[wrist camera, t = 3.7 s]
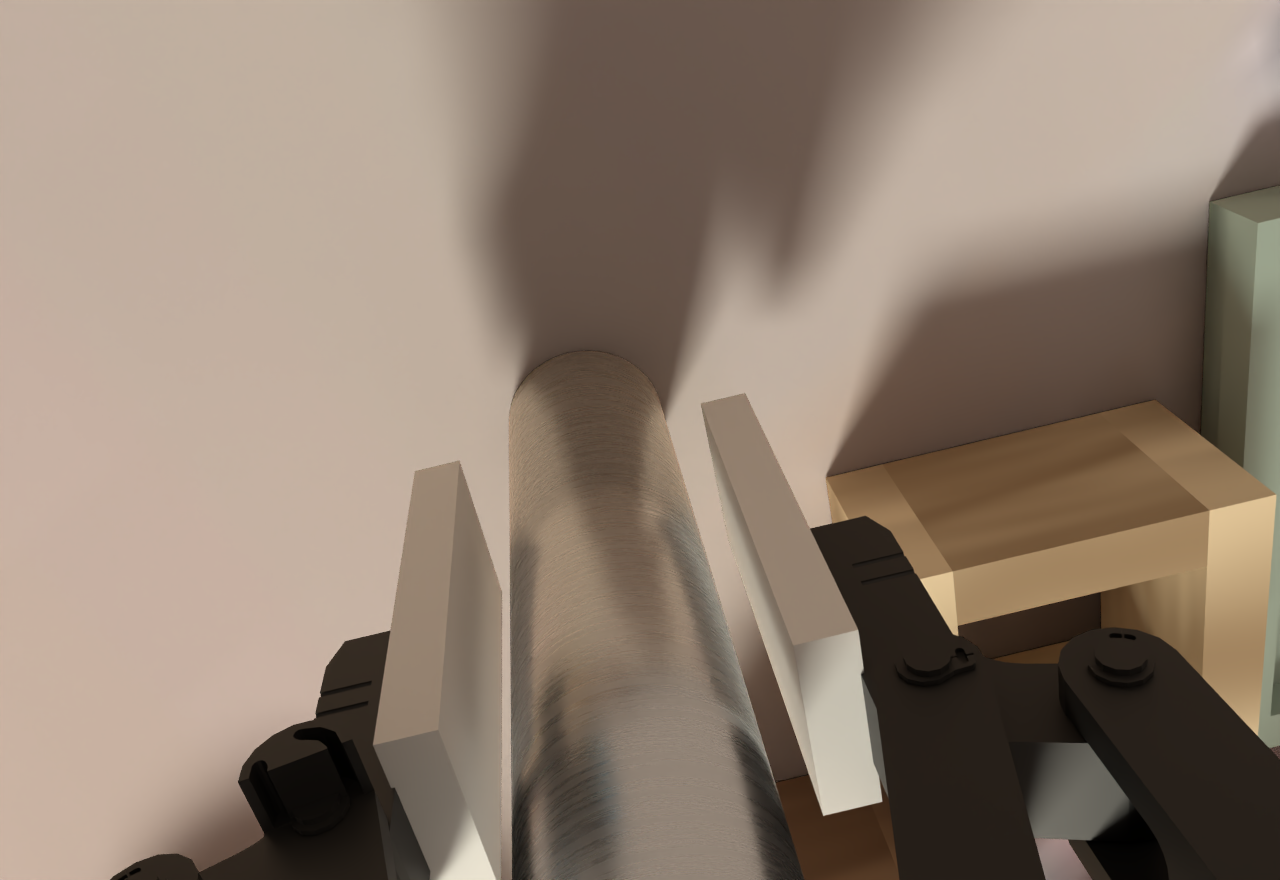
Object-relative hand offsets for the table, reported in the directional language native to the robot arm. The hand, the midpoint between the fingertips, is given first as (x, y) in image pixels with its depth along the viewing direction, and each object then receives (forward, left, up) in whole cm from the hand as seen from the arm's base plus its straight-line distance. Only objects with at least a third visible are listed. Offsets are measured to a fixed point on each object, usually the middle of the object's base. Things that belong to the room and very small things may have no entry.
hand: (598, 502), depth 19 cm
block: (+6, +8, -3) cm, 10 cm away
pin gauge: (0, 0, -3) cm, 3 cm away
